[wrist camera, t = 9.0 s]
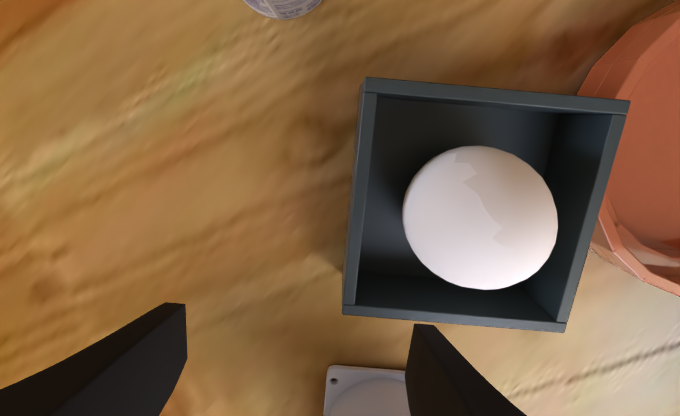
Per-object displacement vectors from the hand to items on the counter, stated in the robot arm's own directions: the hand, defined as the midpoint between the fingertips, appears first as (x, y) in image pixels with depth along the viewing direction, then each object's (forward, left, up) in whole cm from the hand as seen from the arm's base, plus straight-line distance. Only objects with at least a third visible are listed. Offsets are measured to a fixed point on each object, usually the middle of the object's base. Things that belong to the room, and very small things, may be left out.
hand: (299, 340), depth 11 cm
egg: (+3, -7, -10) cm, 13 cm away
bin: (+3, -7, -10) cm, 13 cm away
